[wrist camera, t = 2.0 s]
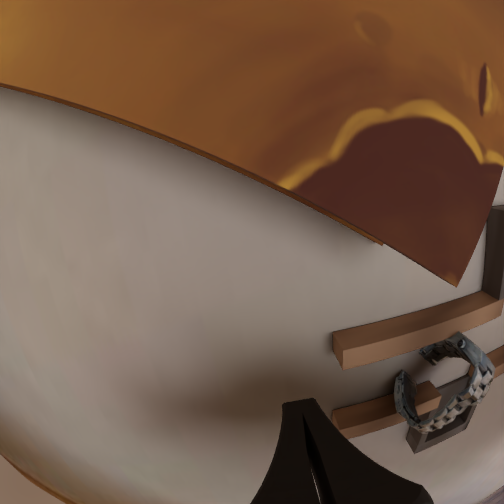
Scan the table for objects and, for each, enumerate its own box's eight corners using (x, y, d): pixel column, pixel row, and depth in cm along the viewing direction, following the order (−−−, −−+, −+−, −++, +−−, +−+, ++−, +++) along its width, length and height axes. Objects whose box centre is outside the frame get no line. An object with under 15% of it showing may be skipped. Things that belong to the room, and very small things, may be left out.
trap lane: (554, 199, 11) (574, 203, 9) (519, 378, 14) (531, 390, 12) (326, 228, 11) (343, 239, 9) (329, 462, 14) (336, 485, 12)
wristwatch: (454, 334, 13) (505, 378, 8) (389, 393, 14) (426, 451, 9) (437, 301, 13) (498, 346, 8) (365, 368, 13) (405, 433, 9)
